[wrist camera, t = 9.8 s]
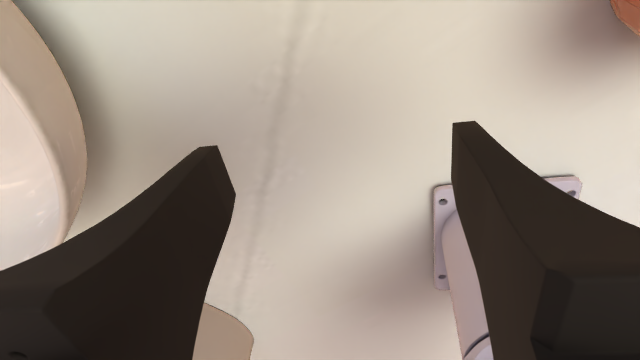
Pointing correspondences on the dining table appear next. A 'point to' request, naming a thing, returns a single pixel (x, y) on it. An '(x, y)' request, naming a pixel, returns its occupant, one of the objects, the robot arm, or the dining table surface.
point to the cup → (628, 13)
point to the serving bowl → (35, 144)
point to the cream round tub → (221, 337)
